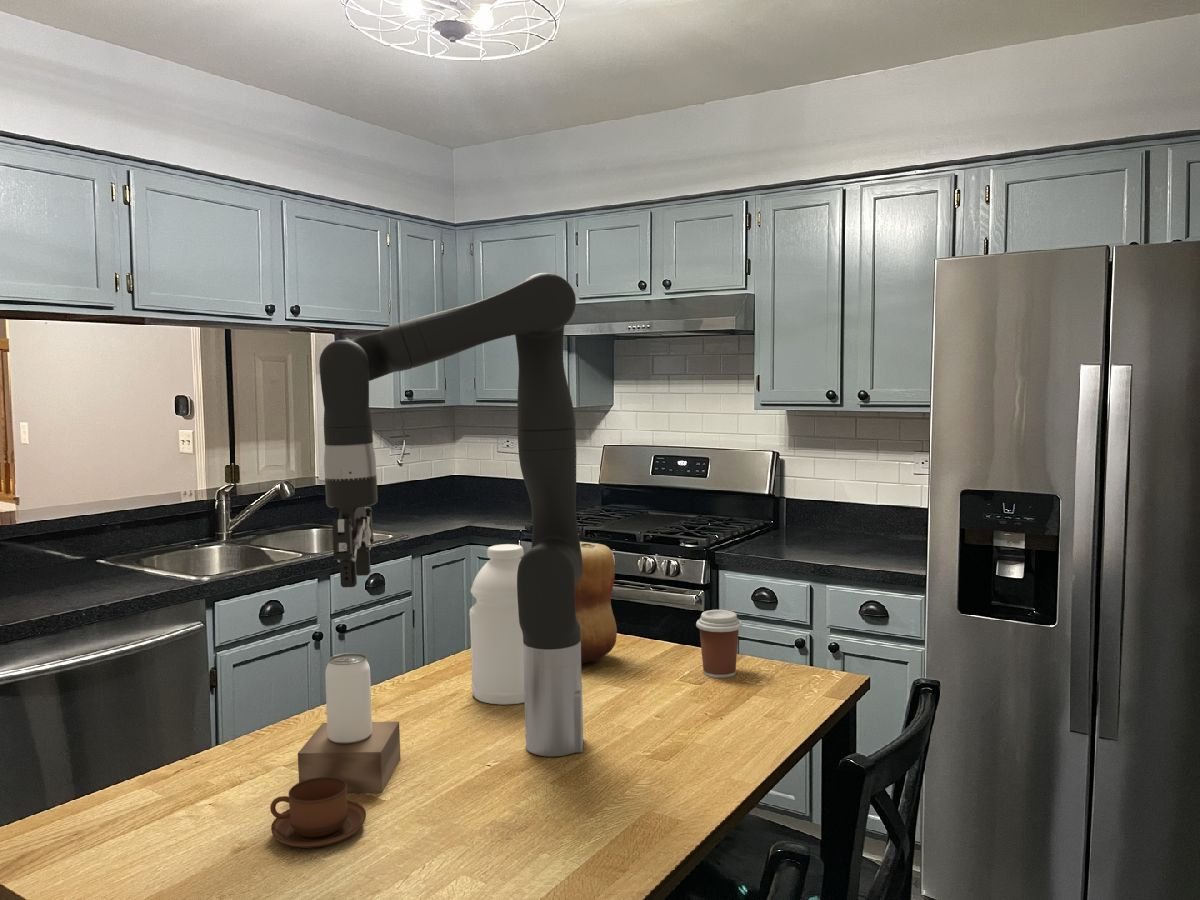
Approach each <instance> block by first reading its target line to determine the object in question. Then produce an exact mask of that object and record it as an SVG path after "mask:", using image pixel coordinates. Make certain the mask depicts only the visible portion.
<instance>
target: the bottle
mask: <svg viewBox="0 0 1200 900" xmlns="http://www.w3.org/2000/svg"><path fill="white" fill-rule="evenodd" d="M486 552H487V553H486V556H487V558H489V560H487V562H485V564H484V565H483V566H482V567H481V568H480V569H479V571H478V573H477V574H476V576H475V578H474V580H473V582H472V585H471V588H470V594H471V595H472V596H473V597H474V598H475V599H476V602H475V603H474V604H473V605H472V606H471V608H470V609H469V613H468V615H469V627H470V628H469V629H470V656H471V657H470V658H471V659H470V660H471V661H470V662H471V685H470V687H471V692H472V694H473V697H474V698H475V699H476V700H478V701H480V702H482V703H487V704H491V705H506V706H507V705H517V704H525V698H524V658H523V633H522V630H521V627H520V623H519V614H518V596H517V571H518V566H519V563H520V561H521V559H522V557H523V556H524V555H525V554H524V548H523V546H522V545H519V544H515V543H514V544H513V543H512V544H511V543H505V544H495V545H491V546H489V547H488V548H487V551H486Z"/></svg>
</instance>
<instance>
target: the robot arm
mask: <svg viewBox="0 0 1200 900" xmlns="http://www.w3.org/2000/svg"><path fill="white" fill-rule="evenodd" d="M576 301H577V298H576V293H575V291H574V289H573V287H572V285H571V284H570V283H569V282H568V281H567V280H566V279H565V278H563V277H562V276H560V275H557V274H556V273H552V272H551V273H550V272H540V273H536V274H533V275H530V276H529V277H527V278H525V279H524V280H523V281H522V282H520V283H519V284H516V285H515V286H512V287H511V288H509V289H506V290H504V291H502V292H500V293H498V294H494V295H491V296H490V297H487V298H484V299H481V300H479V301H475V302H472V303H468V304H465V305H461V306H458V307H454V308H450V309H445V310H441V311H438V312H433V313H430V314H426V315H423V316H418V317H415V318H412V319H409V320H405V321H402V322H398V323H396V324H393V325H390V326H387V327H385V328H383V329H382V330H380V331H378V332H375V333H369V334H366V335H364V336H363V335H362V336H360V337H355V338H352V339H351V338H350V339H338V340H335V341H333V342H330V343H329V344H328V345H326V347H324V349H323V350H322V351H321V353H320V357H319V364H318V365H319V368H318V370H319V380H320V385H321V386H320V388H321V394H322V403H323V408H324V409H323V410H324V412H323V437H324V438H323V439H324V455H323V467H324V468H323V470H324V487H325V488H324V489H325V504H326V506H327V507H328V508H332V509H338V510H339V515H338V516H339V517H338V518H333V519H332V521H331V522H332V523H331V525H332V543H333V544H332V546H333V555H332V556H333V557H332V558H333V559H334V561H337V562H338V563H339V574H340V575H339V576H340V586H341V587H342V588H354V587H356V586H357V585H358V578H357V577H359V576H363V577H364V576H368V575H370V574H371V557H370V556H371V554H370V551H371V548H372V545H373V544H374V542H375V539H374V530H373V514H372V513H373V509H372V506H374V505H376V504H377V503H378V499H379V497H378V481H377V480H378V479H377V478H378V477H377V461H376V453H375V448H374V436H373V433H374V432H373V422H372V414H371V410H370V381H373V380H376V379H379V378H381V377H384V376H387V375H390V374H392V373H397V372H403V371H407V370H408V371H409V370H411V369H414V368H417V367H421V366H423V365H425V366H426V365H427V364H430V363H434V362H437V361H440V360H442V359H443V360H444V359H446V358H448V357H452V356H454V355H455V354H456V355H457V354H458V353H462V352H464V351H466V350H469V349H472V348H474V347H477V346H479V345H482V344H486V343H487V342H488V343H489V342H492V341H495V340H499V339H503V338H507V337H511V336H515V344H516V352H517V360H518V361H517V362H518V363H517V364H518V380H517V405H516V406H517V411H516V413H517V414H516V415H517V418H516V419H517V423H516V424H517V427H516V428H517V448H518V449H517V450H518V451H517V452H518V460H519V467H520V470H521V475H522V479H523V481H524V484H525V489H526V491H527V493H528V497H529V501H530V506H531V516H532V521H531V522H532V533H531V545H530V546H531V547H530V549H529V550H528V551H527V552H525V554H524V555H523V556H522V557H521V561H520V563H519V566H518V571H517V596H518V614H519V623H520V627H521V630H522V633H523V658H524V698H525V702H524V725H525V727H524V729H525V730H524V732H525V733H524V736H525V749H526V750H527V751H528V752H529V753H531V754H533V755H537V756H539V757H540V756H542V757H564V756H568V755H571V754H575V753H583V749H584V715H583V714H584V707H583V703H584V702H583V699H584V698H583V683H582V682H583V681H582V664H581V630H580V624H579V623H578V622H577V619H576V609H575V586H576V585H577V584H578V582H579V580H580V578H581V575H582V571H583V561H582V553H581V547H580V542H581V541H580V534H579V527H578V519H577V511H576V510H577V508H576V501H577V497H576V496H577V438H576V437H577V433H576V418H575V410H574V406H573V401H572V396H571V392H570V388H569V383H568V380H567V376H566V372H565V364H564V333H565V326H567V324H568V323H569V322H570V320H571V318H572V317H573V316H574V313H575V310H576V305H577V303H576Z"/></svg>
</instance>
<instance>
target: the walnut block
mask: <svg viewBox="0 0 1200 900" xmlns="http://www.w3.org/2000/svg"><path fill="white" fill-rule="evenodd" d="M311 735H312V736H311V737H310V738H308V740H307V741H306V742H305V744H304V745H303V746H302V747H301V748H300V749H299V751H298V752H297V766H298V767H297V769H298V783H300V782H302V781H305V780H308V779H312V778H317V777H336V778H340V779H342V780H344V781H345V782H346V784H347V794H353V793H354V794H361V793H363V794H364V793H365V794H366V793H367V794H368V793H371V794H372V793H383V792H384V790H385V789H386V786H387V785H388V783H389V781H390V779H391V777H392V775H393V773H394V772H395V770H396V768H397V766H398V765H399V762H400V760H401V758H402V757H401V734H400V721H372V733H371V734H370V736H369V737H368V738H367V739H365V740H363V741H360V742H357V743H351V744H338V743H334V742H332V741H331V740H330V739H329V738H328V731H327V722H322V723H321V724H320V726H319V727H317V729H316V730H315V732H314V733H312V734H311Z"/></svg>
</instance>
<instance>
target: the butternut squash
mask: <svg viewBox="0 0 1200 900" xmlns="http://www.w3.org/2000/svg"><path fill="white" fill-rule="evenodd" d="M580 547H581V553H582V561H583V571H582V575H581V578H580V580H579V582H578V584H577V585H576V586H575V609H576V619H577V622H578V623H579V624H580V630H581V665H584V664H590V663H594V662H597V661H599V659H601V658H604V657H605V656H606V655H608V654H609V653H610V652H611V651H612V650H613V649H614V647H615V645H616V643H617V636H618V628H617V623H616V618H615V615H614V613H613V612H614V611H613V608H612V604H611V603H612V602H611V599H612V594H613V590H614V589H613V587H614V583H615V577H616V575H615V572H616V571H615V569H616V567H615V557H614V554H613V552H612V550H611V548H610V547H609V546H607V545H606V544H601V543H596V542H595V543H594V542H587V541H586V542H585V541H580Z"/></svg>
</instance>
